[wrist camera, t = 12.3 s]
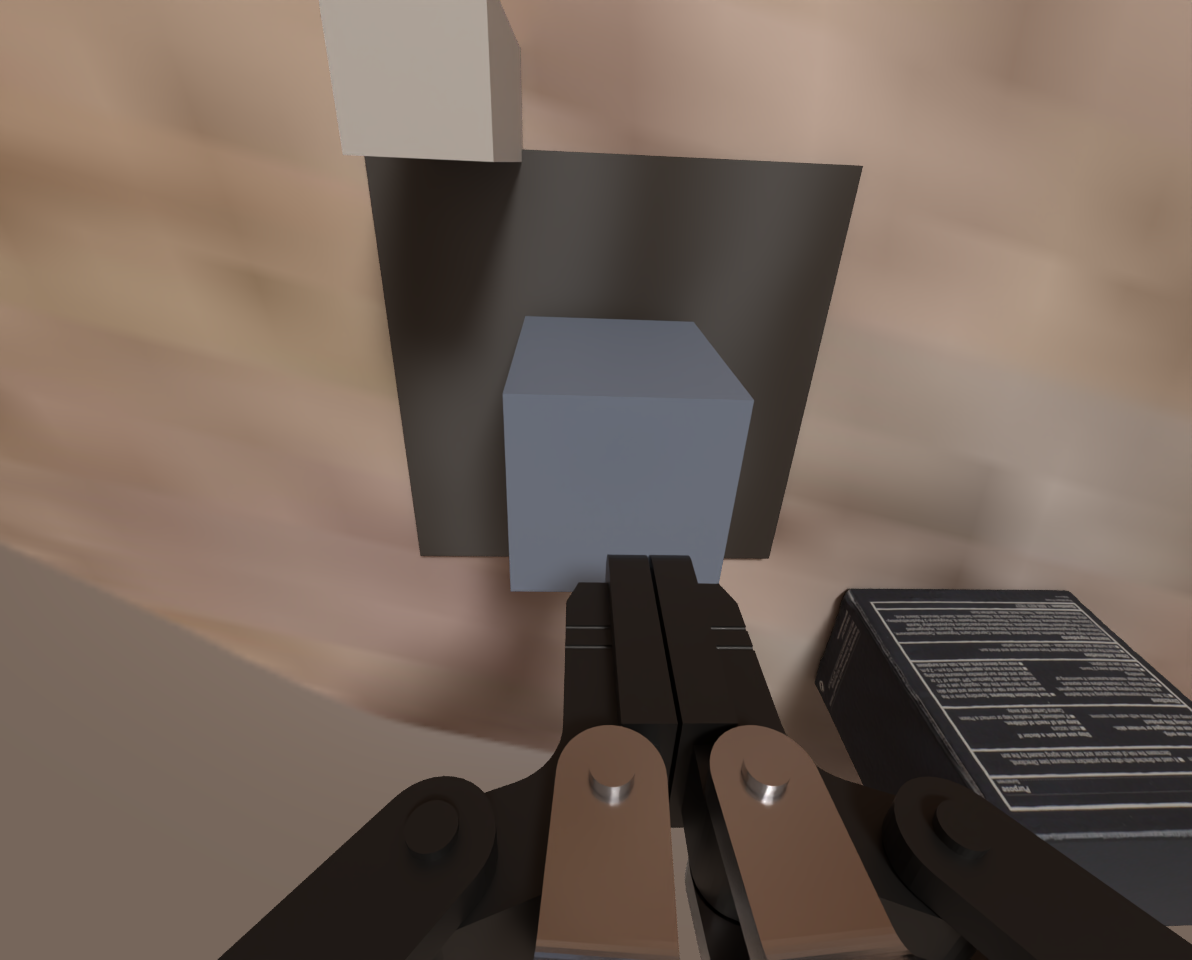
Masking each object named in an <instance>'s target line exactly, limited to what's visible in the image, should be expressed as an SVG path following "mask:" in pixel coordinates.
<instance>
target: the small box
mask: <svg viewBox="0 0 1192 960" xmlns="http://www.w3.org/2000/svg"><path fill="white" fill-rule="evenodd" d="M815 685H816V686H817V688H818V690H819V692H820V694H821V696H822V698H823V701H824V703H825V705H826V707H827V709H828V711H829V713H830V715H831V717H832V719H833V722H834V724H835V726H836V728H837V730H838V732H839V734H840V737H841V739H842V741H843V743H844V745H845V747H846V749H847V751H848V753H849V756H850V758H851V760H852V762H853V764H854V766H855V768H856V770H857V772H858V774H859V777H860V779H861V781H862V783H863V785H864V786H866V787H869V788H873V789H876V790H879V791H883V792H886V793H889V794H892V795H896V794H897V792H898V791H899V789H900V787H901V786H902V785H903V784H905V783H906V782H908V781H909V780H911V779H914V778H918V777H938V778H942V779H946V780H950V781H952V782H955V783H958V784H960V785H962V786H964V787H966V788H968V789H970V790H972V791H973V792H975V793H977V794H978V795H980V796H981V797H983V798H984V799H986V800H987V801H988V802H990V803H991V804H993V805H994V806H996V807H997V808H998V809H1000V810H1001V811H1003V812H1004V813H1006V814H1007V815H1008V816H1010V817H1011V818H1013V819H1014V820H1015V821H1017V822H1018V823H1020V824H1021V825H1023V826H1024V827H1025V828H1027V829H1028V830H1030V831H1031V832H1033V833H1034V834H1035V835H1037V836H1038V837H1040V838H1041V839H1043V840H1044V841H1045V842H1047V843H1048V844H1050V845H1051V846H1052V847H1054V848H1055V849H1057V850H1058V851H1060V852H1061V853H1062V854H1064V855H1065V856H1067V857H1068V858H1070V859H1071V860H1072V861H1074V862H1075V863H1077V864H1078V865H1079V866H1081V867H1082V868H1084V869H1085V870H1087V871H1088V872H1089V873H1091V874H1092V875H1094V876H1095V877H1097V878H1098V879H1099V880H1101V881H1102V882H1104V883H1105V884H1106V885H1108V886H1109V887H1111V888H1112V889H1114V890H1115V891H1116V892H1118V893H1119V894H1121V895H1122V896H1124V897H1125V898H1126V899H1128V900H1129V901H1131V902H1132V903H1133V904H1135V905H1136V906H1138V907H1139V908H1141V909H1142V910H1143V911H1145V912H1146V913H1148V914H1149V915H1151V916H1152V917H1153V918H1155V919H1156V920H1158V921H1159V922H1160V923H1162V924H1163V925H1165V926H1180V925H1192V701H1190V700H1189V699H1188V698H1187V697H1186V696H1184V695H1183V694H1182V693H1181V692H1180V691H1179V690H1178V689H1177V688H1176V687H1175V686H1173V685H1172V684H1171V683H1170V682H1169V681H1168V680H1167V679H1166V678H1164V677H1163V676H1162V675H1161V674H1160V673H1159V672H1157V671H1156V670H1155V669H1154V668H1153V667H1152V666H1151V665H1150V664H1149V663H1147V662H1146V661H1145V660H1144V659H1143V658H1142V657H1141V656H1140V655H1139V654H1137V653H1136V652H1134V651H1133V650H1132V649H1131V648H1130V647H1129V646H1128V645H1127V644H1126V643H1125V642H1124V641H1123V640H1122V639H1121V638H1119V637H1118V636H1117V635H1116V634H1115V633H1114V632H1112V631H1111V630H1110V629H1109V628H1108V627H1107V626H1106V625H1105V624H1103V623H1102V621H1101V620H1099V619H1098V618H1097V617H1096V616H1095V615H1094V614H1093V613H1092V612H1091V611H1090V610H1089V609H1087V608H1086V607H1085V606H1084V605H1083V604H1082V603H1081V602H1080V601H1079V600H1078V599H1077V598H1076V597H1075V596H1074V595H1073V594H1072V593H1071V592H1069V591H1057V590H948V589H938V590H935V589H849V590H848V591H847V592H846V593H845V595H844V598H843V600H842V601H841V606H840V611H839V614H838V616H837V617H836V622H835V625H834V628H833V631H832V634H831V636H830V639H829V642H828V644H827V647H826V650H825V653H824V656H823V657H822V659H821V660H820V664H819V669H818V672H817V676H816V679H815Z"/></svg>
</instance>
